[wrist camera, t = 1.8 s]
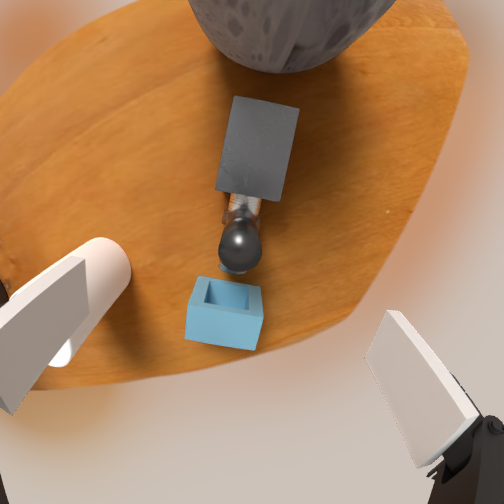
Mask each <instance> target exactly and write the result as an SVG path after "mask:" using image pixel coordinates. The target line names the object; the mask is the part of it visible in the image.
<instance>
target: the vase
mask: <svg viewBox="0 0 504 504" xmlns="http://www.w3.org/2000/svg"><path fill="white" fill-rule="evenodd" d="M188 1H189V3H190V5H191V8H192V10H193V12H194V14H195V16H196V18H197V20H198V22H199V24H200V26H201V28H202V30H203V31H204V33H205V34H206V36H207V37H208V39H209V40H210V41H211V42H212V44H213V45H214V46H215V47H216V48H217V49H218V50H219V51H220V52H222V53H223V54H224V55H225V56H226V57H228V58H230V59H231V60H233V61H234V62H236V63H238V64H241V65H243V66H245V67H247V68H250V69H254V70H257V71H262V72H266V73H277V74H281V73H296V72H301V71H306V70H309V69H312V68H314V67H317V66H319V65H322V64H324V63H325V62H327V61H329V60H330V59H332V58H334V57H335V56H337V55H339V54H340V53H341V52H342V51H344V50H345V49H346V48H348V47H349V46H350V45H351V44H352V43H353V42H355V41H356V40H357V39H358V38H359V37H361V36H362V35H363V34H364V33H365V32H366V31H367V30H368V29H369V28H370V27H371V26H372V25H373V24H374V23H375V22H376V21H377V20H378V19H379V18H381V17H382V16H383V15H384V14H385V13H386V11H387V10H388V9H389V8H390V7H391V6H392V5H393V3H394V2H395V1H396V0H188Z"/></svg>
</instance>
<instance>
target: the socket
mask: <svg viewBox="0 0 504 504" xmlns="http://www.w3.org/2000/svg"><path fill="white" fill-rule="evenodd" d="M263 319H264V315H263V306H262V297H261V288H260V286H254V285H248V284H243V283H237V282H231V281H225V280H220V279H214V278H209V277H203V276H198V278H197V281H196V284H195V286H194V289H193V292H192V295H191V297H190V300H189V303H188V308H187V318H186V329H185V339H187V340H193V341H198V342H203V343H209V344H215V345H221V346H227V347H233V348H240V349H247V350H254V351H255V348H256V345H257V341H258V337H259V334H260V330H261V326H262V322H263Z"/></svg>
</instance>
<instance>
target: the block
mask: <svg viewBox="0 0 504 504" xmlns="http://www.w3.org/2000/svg"><path fill="white" fill-rule="evenodd" d="M299 110H300V109H298V108H294V107H290V106H286V105H281V104H277V103H272V102H268V101H263V100H258V99H252V98H247V97H241V96H235V95H234V99H233V103H232V108H231V112H230V117H229V121H228V126H227V131H226V136H225V141H224V146H223V151H222V156H221V161H220V166H219V171H218V177H217V182H216V188H215V190H218V191H223V192H229V193H234V194H240V195H245V196H250V197H256V198H261V199H266V200H271V201H276V202H280V199H281V194H282V190H283V185H284V180H285V176H286V171H287V167H288V162H289V157H290V153H291V148H292V143H293V139H294V134H295V129H296V124H297V119H298V115H299Z"/></svg>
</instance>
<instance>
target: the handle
mask: <svg viewBox="0 0 504 504" xmlns="http://www.w3.org/2000/svg"><path fill="white" fill-rule="evenodd" d="M261 201H262V199H261V198H256V197H250V196H245V195H240V194H234V193H231V196H230V202H229V207H228V209H227V210H224V213H223V219H222V223H223V224H224V225H225V227H224V231H223V234H222V238H221V241H220V244H219V249H218V254H219V264H218V267H219V268H220V269H221V270H223V271H225V272H227V273H231V274H243V273H246V272H247V271H248V270H250V269H252V268H254V267H255V266H256V265H257V264H258V262H259V260H260V258H261V254H262V250H261V243H260V238H259V232H258V230H259V229H260V224H261V219H262V217H261V216H259V210H260V205H261Z"/></svg>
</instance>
